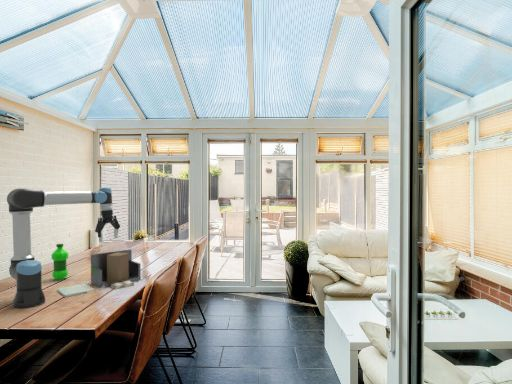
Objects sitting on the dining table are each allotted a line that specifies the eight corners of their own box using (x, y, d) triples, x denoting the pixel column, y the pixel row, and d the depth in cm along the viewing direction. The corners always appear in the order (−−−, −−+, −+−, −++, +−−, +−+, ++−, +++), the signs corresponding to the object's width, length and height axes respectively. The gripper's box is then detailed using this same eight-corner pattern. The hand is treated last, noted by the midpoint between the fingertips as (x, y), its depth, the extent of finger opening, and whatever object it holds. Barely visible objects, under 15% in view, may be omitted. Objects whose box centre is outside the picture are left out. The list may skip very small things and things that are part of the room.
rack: (101, 289, 214) (101, 258, 214) (91, 284, 228) (90, 254, 227) (142, 281, 233) (142, 252, 233) (130, 276, 247) (130, 249, 247)
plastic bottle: (61, 281, 235) (60, 245, 235) (48, 280, 237) (47, 245, 237) (71, 277, 245) (71, 243, 245) (59, 276, 247) (58, 242, 247)
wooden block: (128, 281, 233) (128, 252, 233) (119, 285, 223) (119, 255, 223) (116, 280, 235) (116, 252, 235) (106, 284, 226) (106, 255, 226)
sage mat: (65, 297, 199) (65, 295, 199) (56, 290, 212) (56, 289, 212) (95, 291, 211) (95, 289, 211) (85, 285, 224) (85, 283, 224)
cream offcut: (115, 289, 212) (115, 286, 212) (110, 286, 217) (110, 284, 217) (133, 285, 220) (133, 282, 220) (128, 283, 225) (128, 280, 225)
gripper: (96, 211, 220) (98, 243, 221) (124, 207, 243) (126, 236, 244) (87, 211, 223) (89, 243, 224) (116, 207, 246) (118, 236, 247)
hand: (108, 240), depth 234 cm, fingers open, 13 cm apart
